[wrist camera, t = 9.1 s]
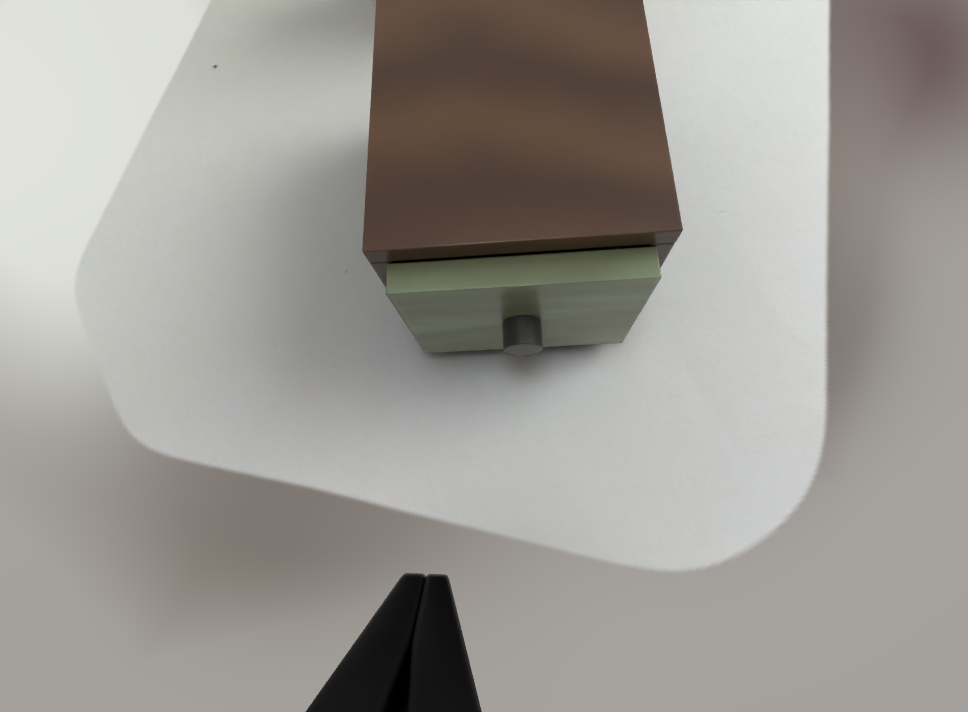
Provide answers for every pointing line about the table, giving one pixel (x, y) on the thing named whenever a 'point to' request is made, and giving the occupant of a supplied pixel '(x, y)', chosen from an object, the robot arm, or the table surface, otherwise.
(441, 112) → the cabinet
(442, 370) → the table surface
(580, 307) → the drawer
